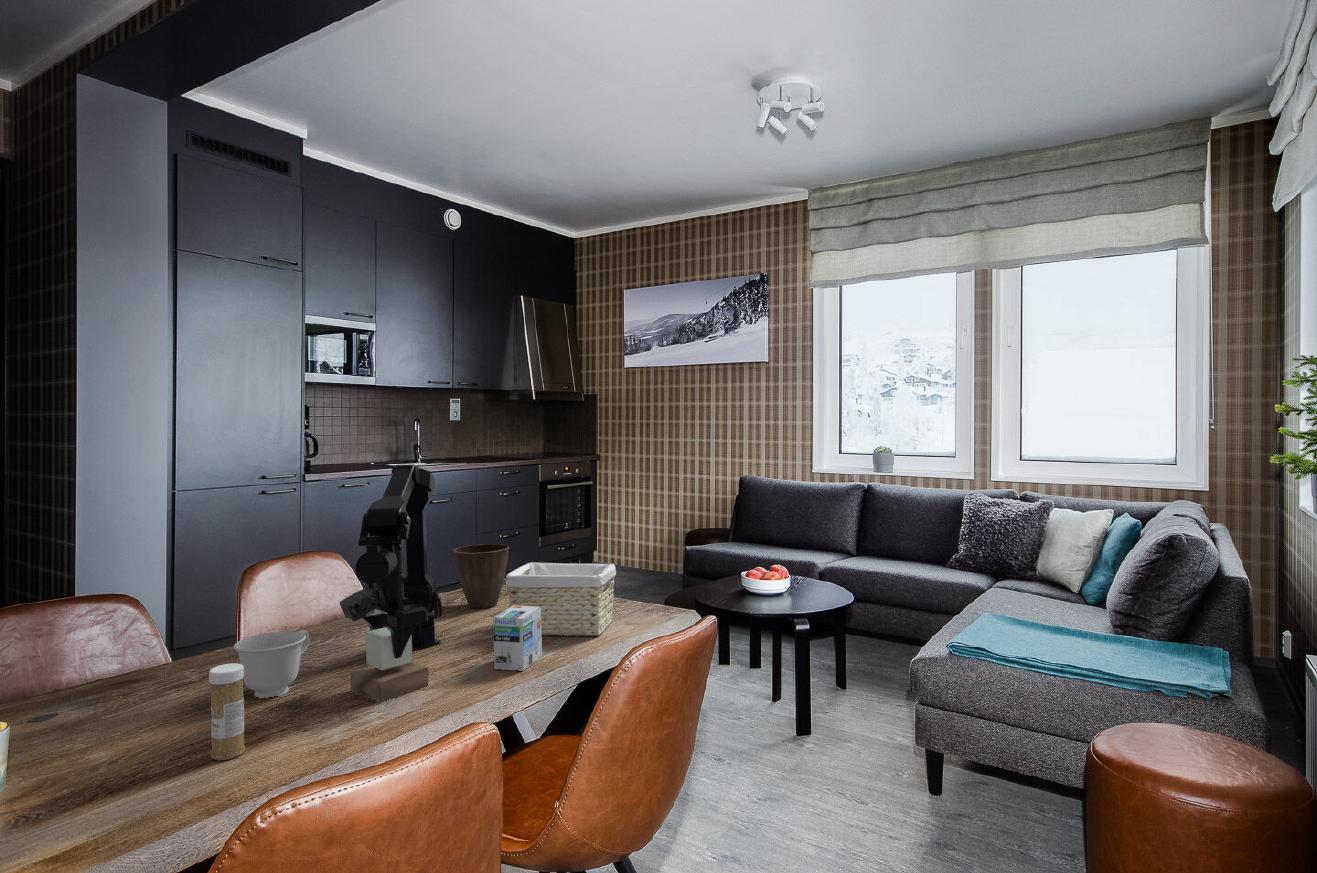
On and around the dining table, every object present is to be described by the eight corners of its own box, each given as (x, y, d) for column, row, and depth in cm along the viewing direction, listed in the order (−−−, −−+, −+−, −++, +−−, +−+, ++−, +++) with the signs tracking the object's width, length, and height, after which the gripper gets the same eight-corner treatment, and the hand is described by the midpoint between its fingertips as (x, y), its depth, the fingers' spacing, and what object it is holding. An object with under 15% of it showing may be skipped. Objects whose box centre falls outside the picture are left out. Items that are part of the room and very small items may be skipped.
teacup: (332, 680, 143) (331, 629, 143) (269, 708, 129) (268, 652, 129) (285, 674, 147) (284, 625, 147) (219, 701, 133) (217, 647, 133)
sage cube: (366, 663, 138) (365, 632, 137) (396, 655, 142) (395, 625, 142) (382, 670, 134) (381, 637, 133) (412, 661, 138) (411, 630, 138)
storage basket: (504, 636, 172) (502, 574, 171) (528, 618, 188) (527, 561, 187) (602, 640, 167) (601, 576, 167) (618, 621, 183) (617, 562, 183)
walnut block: (350, 693, 137) (350, 672, 137) (397, 678, 145) (397, 658, 145) (381, 704, 131) (380, 682, 131) (428, 688, 139) (428, 667, 139)
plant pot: (445, 611, 195) (443, 552, 195) (468, 598, 210) (467, 543, 209) (497, 613, 192) (496, 553, 192) (517, 599, 207) (516, 544, 207)
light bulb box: (524, 672, 146) (523, 618, 146) (492, 670, 147) (491, 617, 147) (543, 655, 157) (542, 605, 156) (513, 653, 158) (512, 604, 158)
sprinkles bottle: (206, 756, 110) (204, 668, 110) (239, 745, 114) (236, 660, 114) (217, 764, 107) (215, 674, 107) (250, 753, 111) (248, 666, 111)
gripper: (322, 573, 138) (324, 655, 138) (370, 587, 125) (372, 676, 126) (378, 564, 146) (380, 641, 146) (428, 576, 134) (430, 660, 134)
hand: (389, 654), depth 138 cm, fingers closed on sage cube, 6 cm apart
